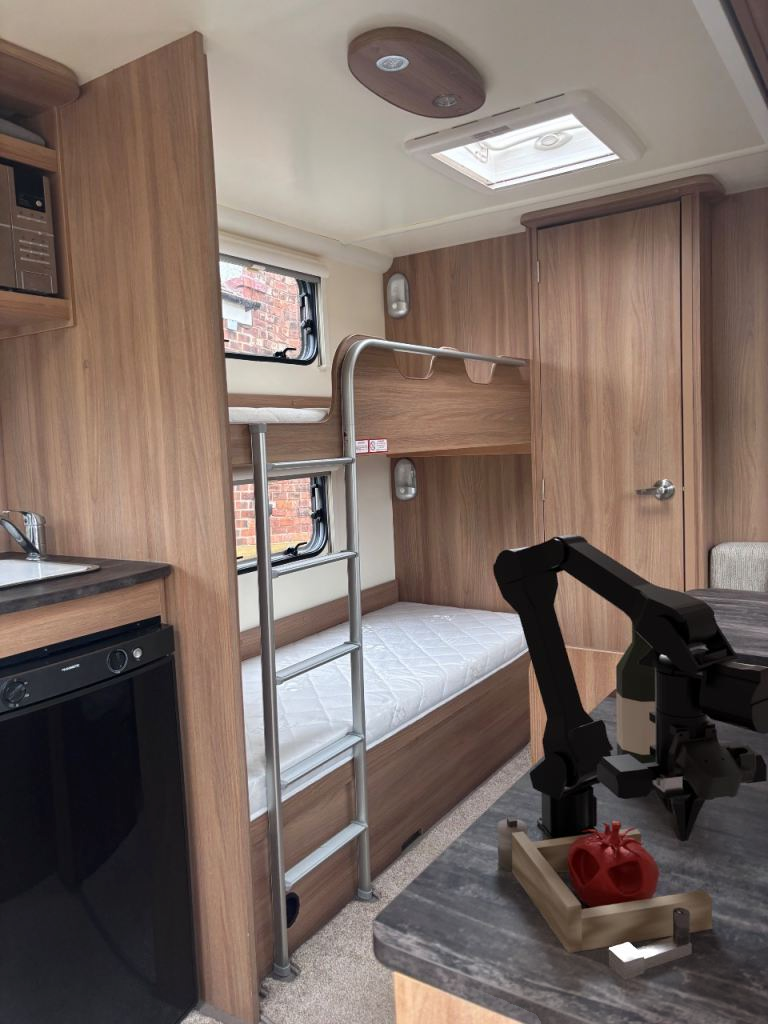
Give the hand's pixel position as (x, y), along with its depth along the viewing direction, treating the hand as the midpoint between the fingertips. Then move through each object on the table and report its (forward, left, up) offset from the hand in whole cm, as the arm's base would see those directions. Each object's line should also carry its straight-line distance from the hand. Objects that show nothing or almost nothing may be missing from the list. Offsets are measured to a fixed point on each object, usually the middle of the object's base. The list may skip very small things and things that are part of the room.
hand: (682, 839), depth 91 cm
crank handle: (-10, -11, -6) cm, 16 cm away
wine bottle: (+13, +31, -6) cm, 34 cm away
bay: (-10, +2, -6) cm, 12 cm away
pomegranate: (-9, 0, -6) cm, 11 cm away
